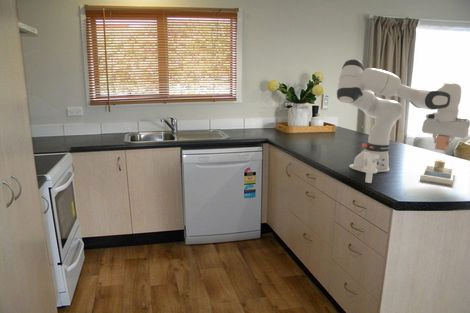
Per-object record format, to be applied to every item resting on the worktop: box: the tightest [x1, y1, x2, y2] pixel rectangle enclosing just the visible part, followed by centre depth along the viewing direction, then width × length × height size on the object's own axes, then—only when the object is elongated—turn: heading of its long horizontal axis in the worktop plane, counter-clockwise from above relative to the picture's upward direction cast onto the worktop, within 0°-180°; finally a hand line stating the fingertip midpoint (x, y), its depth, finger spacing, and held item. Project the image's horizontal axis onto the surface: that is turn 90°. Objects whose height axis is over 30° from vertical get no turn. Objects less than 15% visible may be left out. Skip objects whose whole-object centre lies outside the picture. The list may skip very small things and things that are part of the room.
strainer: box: [362, 152, 379, 184], centre depth 175 cm, size 7×7×15 cm
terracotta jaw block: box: [434, 135, 451, 151], centre depth 177 cm, size 4×4×7 cm
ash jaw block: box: [433, 159, 446, 172], centre depth 191 cm, size 4×4×7 cm
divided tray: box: [419, 164, 455, 187], centre depth 186 cm, size 25×14×3 cm, turn 147°
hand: (442, 144), depth 177 cm, fingers closed on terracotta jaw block, 4 cm apart
